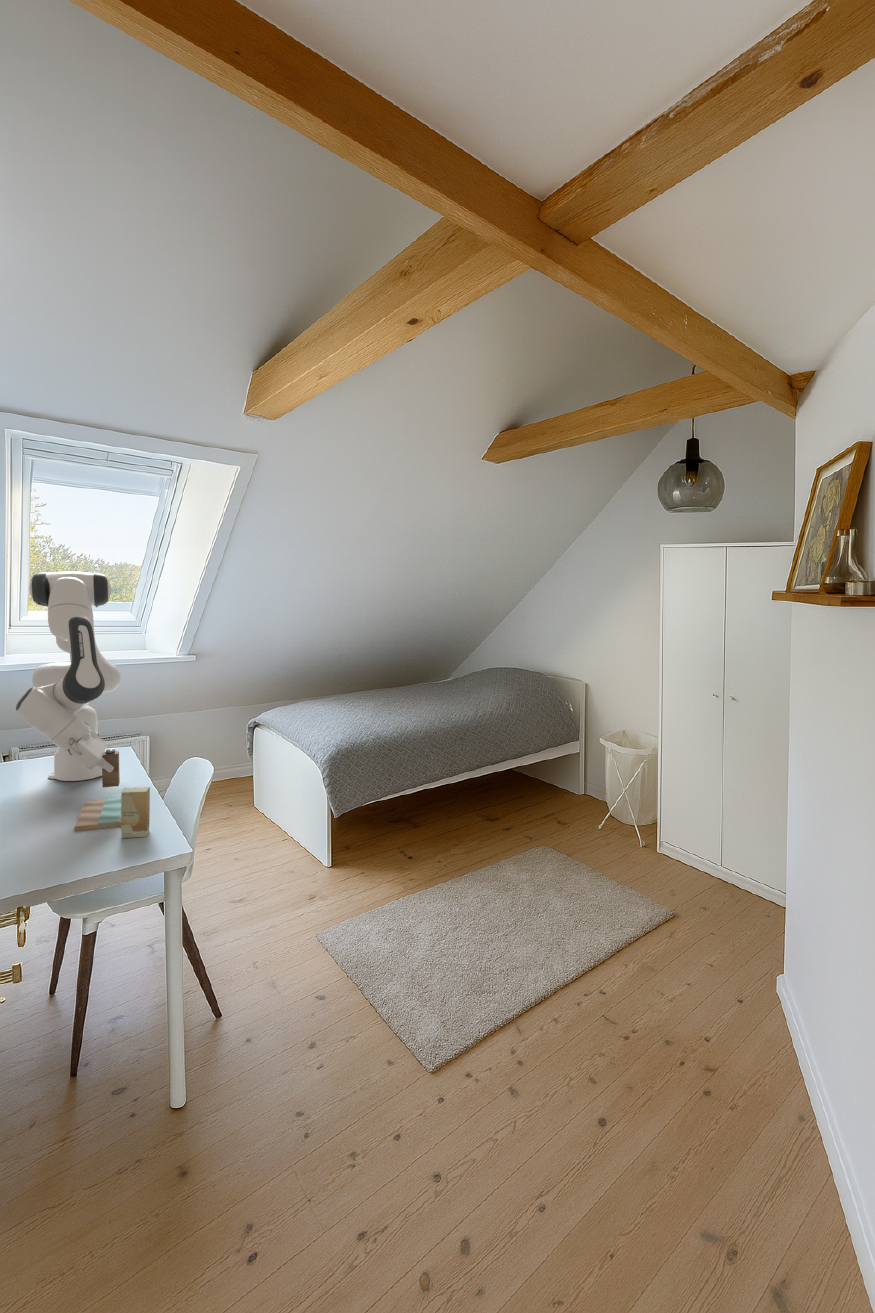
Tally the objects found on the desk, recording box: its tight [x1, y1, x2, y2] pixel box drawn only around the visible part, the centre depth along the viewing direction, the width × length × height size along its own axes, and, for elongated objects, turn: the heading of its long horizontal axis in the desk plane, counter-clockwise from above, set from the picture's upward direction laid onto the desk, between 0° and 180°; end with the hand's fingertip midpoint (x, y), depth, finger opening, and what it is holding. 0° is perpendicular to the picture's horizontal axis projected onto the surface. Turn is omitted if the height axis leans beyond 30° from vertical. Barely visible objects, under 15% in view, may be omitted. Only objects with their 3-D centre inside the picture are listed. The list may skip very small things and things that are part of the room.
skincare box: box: [120, 786, 151, 839], centre depth 164 cm, size 6×4×12 cm
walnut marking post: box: [101, 748, 121, 788], centre depth 177 cm, size 4×4×10 cm
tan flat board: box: [73, 796, 121, 832], centre depth 178 cm, size 22×15×2 cm
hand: (113, 767), depth 178 cm, fingers closed on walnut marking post, 4 cm apart
